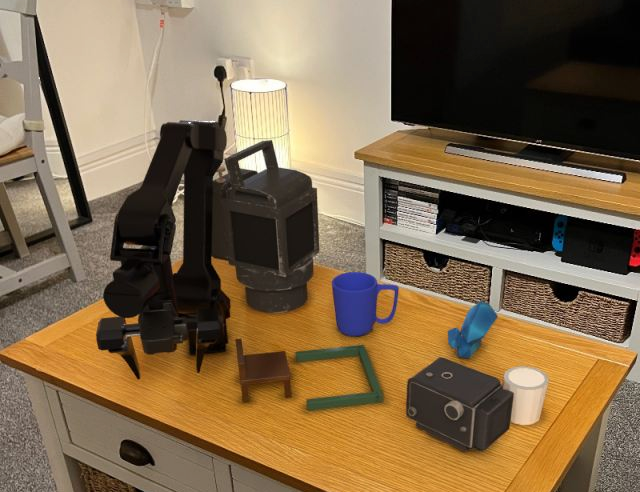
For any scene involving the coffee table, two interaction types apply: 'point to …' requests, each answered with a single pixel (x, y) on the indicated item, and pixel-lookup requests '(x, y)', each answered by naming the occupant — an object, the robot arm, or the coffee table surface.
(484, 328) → the crystal
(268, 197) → the lantern
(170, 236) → the robot arm
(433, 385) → the camera
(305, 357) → the bay
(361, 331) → the mug
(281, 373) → the chair
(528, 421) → the shot glass
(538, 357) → the coffee table surface
